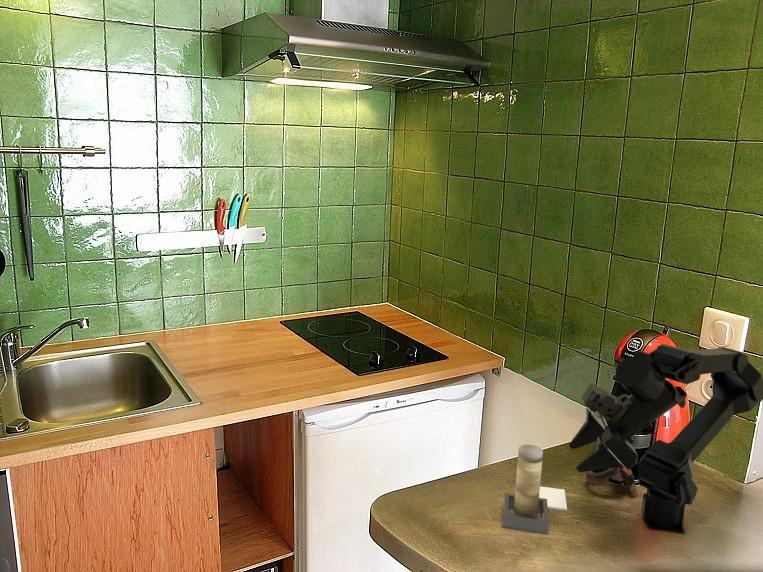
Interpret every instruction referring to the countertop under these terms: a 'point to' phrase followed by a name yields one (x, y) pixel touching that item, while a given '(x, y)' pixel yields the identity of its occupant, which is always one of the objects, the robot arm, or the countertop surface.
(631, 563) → the countertop surface
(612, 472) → the pottery mug
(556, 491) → the off-white pad
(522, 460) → the beige cylinder grey cap
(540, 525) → the metal holder
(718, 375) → the robot arm
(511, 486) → the countertop surface
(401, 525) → the countertop surface
